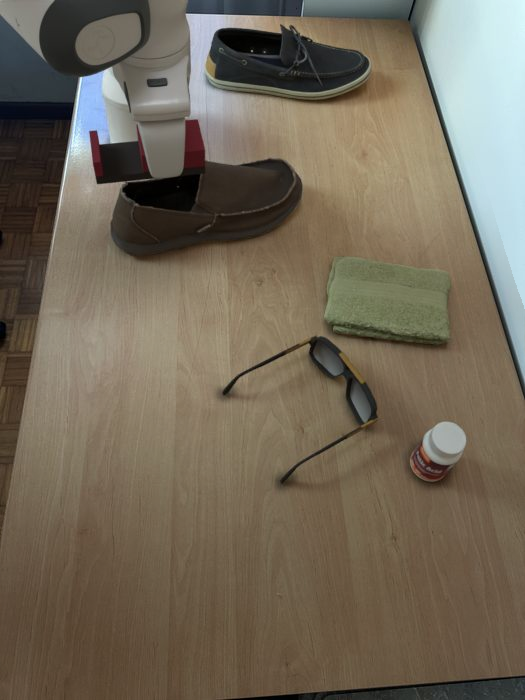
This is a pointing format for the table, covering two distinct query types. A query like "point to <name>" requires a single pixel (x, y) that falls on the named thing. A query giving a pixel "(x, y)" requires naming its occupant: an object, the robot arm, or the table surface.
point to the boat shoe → (283, 64)
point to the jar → (117, 110)
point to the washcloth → (388, 301)
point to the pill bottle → (438, 451)
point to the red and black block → (142, 157)
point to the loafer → (204, 206)
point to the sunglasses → (333, 366)
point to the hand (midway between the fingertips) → (159, 152)
